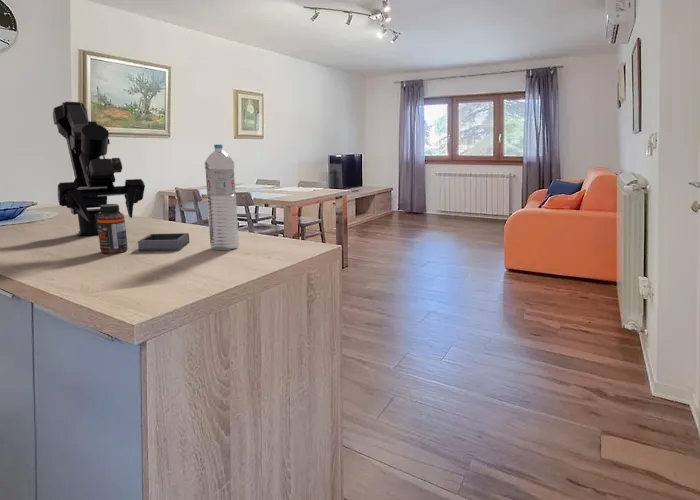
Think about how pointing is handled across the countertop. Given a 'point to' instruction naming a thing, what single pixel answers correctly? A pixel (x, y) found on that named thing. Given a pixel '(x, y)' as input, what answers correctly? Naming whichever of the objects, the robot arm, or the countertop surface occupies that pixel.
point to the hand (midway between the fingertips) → (110, 218)
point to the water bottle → (221, 200)
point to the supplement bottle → (111, 229)
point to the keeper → (164, 242)
